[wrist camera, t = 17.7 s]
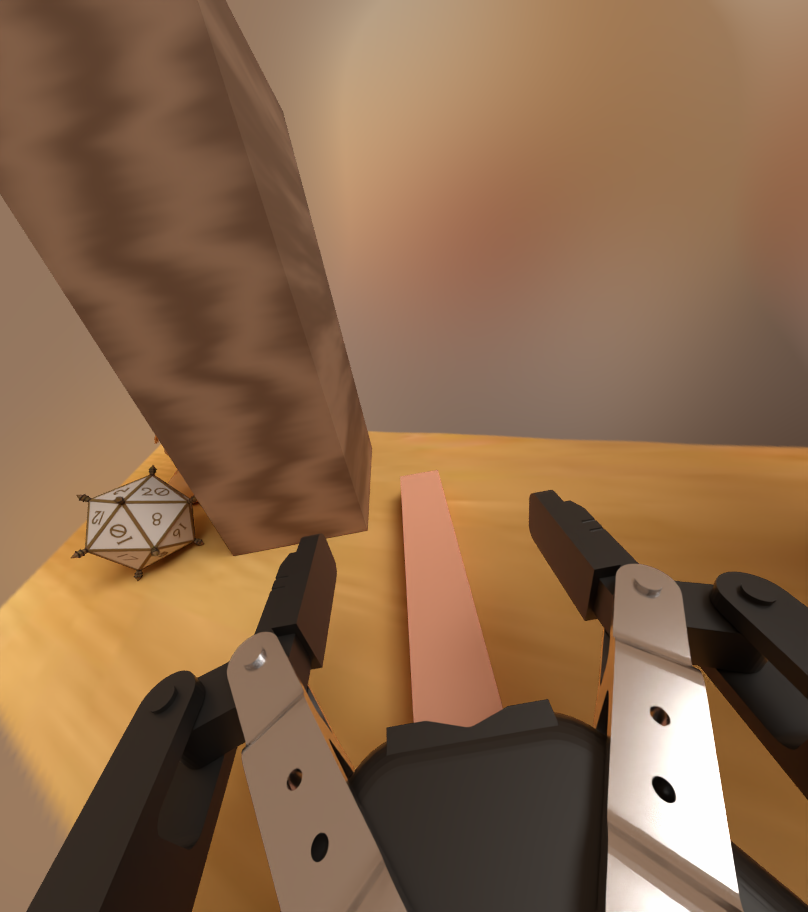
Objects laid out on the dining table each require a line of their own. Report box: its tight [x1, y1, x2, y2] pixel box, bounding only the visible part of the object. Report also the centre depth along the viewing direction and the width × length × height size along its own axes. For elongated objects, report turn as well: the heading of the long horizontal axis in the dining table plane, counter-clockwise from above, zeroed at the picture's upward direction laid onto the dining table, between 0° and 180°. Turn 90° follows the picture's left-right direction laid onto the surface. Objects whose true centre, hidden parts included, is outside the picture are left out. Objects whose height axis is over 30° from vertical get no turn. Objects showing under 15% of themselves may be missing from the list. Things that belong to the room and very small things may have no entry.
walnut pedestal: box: [0, 0, 372, 556], centre depth 25 cm, size 12×16×32 cm
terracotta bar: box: [400, 470, 503, 727], centre depth 18 cm, size 4×22×3 cm, turn 2°
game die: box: [71, 465, 204, 581], centre depth 26 cm, size 9×8×10 cm
